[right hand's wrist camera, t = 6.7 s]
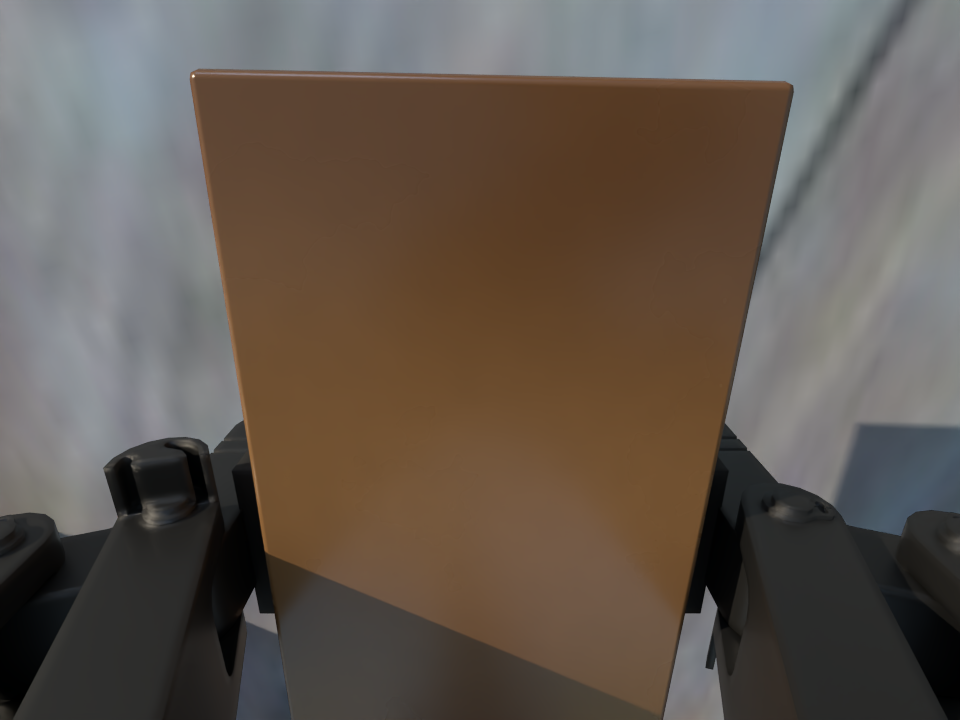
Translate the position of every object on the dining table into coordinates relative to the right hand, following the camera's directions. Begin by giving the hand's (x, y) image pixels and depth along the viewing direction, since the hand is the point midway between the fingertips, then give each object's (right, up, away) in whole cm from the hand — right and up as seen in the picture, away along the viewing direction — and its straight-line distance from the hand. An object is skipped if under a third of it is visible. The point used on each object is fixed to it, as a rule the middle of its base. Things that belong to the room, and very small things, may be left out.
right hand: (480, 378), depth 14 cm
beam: (0, -19, +8) cm, 20 cm away
